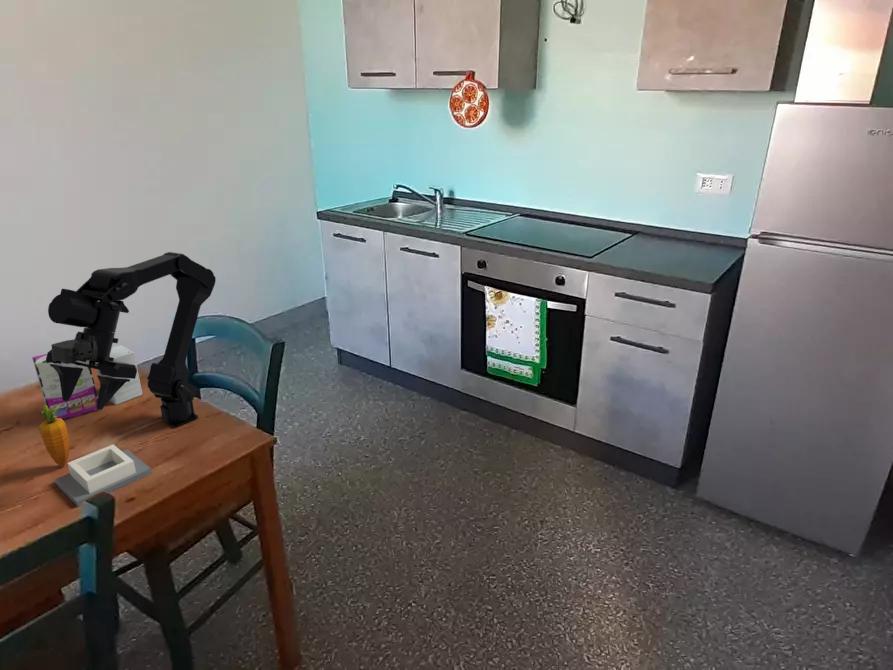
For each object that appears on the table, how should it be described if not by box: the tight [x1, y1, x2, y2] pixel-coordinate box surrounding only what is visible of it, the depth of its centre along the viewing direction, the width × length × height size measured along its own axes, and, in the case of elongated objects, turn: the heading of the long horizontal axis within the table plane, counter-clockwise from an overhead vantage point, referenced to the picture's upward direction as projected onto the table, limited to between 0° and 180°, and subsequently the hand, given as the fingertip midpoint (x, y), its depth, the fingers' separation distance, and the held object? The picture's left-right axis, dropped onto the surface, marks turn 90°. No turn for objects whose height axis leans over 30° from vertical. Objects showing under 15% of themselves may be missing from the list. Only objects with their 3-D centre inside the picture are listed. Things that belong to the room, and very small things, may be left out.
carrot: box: [38, 404, 70, 468], centre depth 134 cm, size 5×5×15 cm
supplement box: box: [96, 344, 143, 405], centre depth 164 cm, size 7×7×13 cm
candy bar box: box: [32, 353, 99, 421], centre depth 155 cm, size 11×5×16 cm, turn 130°
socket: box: [54, 444, 153, 507], centre depth 133 cm, size 15×11×4 cm
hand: (82, 405), depth 129 cm, fingers open, 9 cm apart
